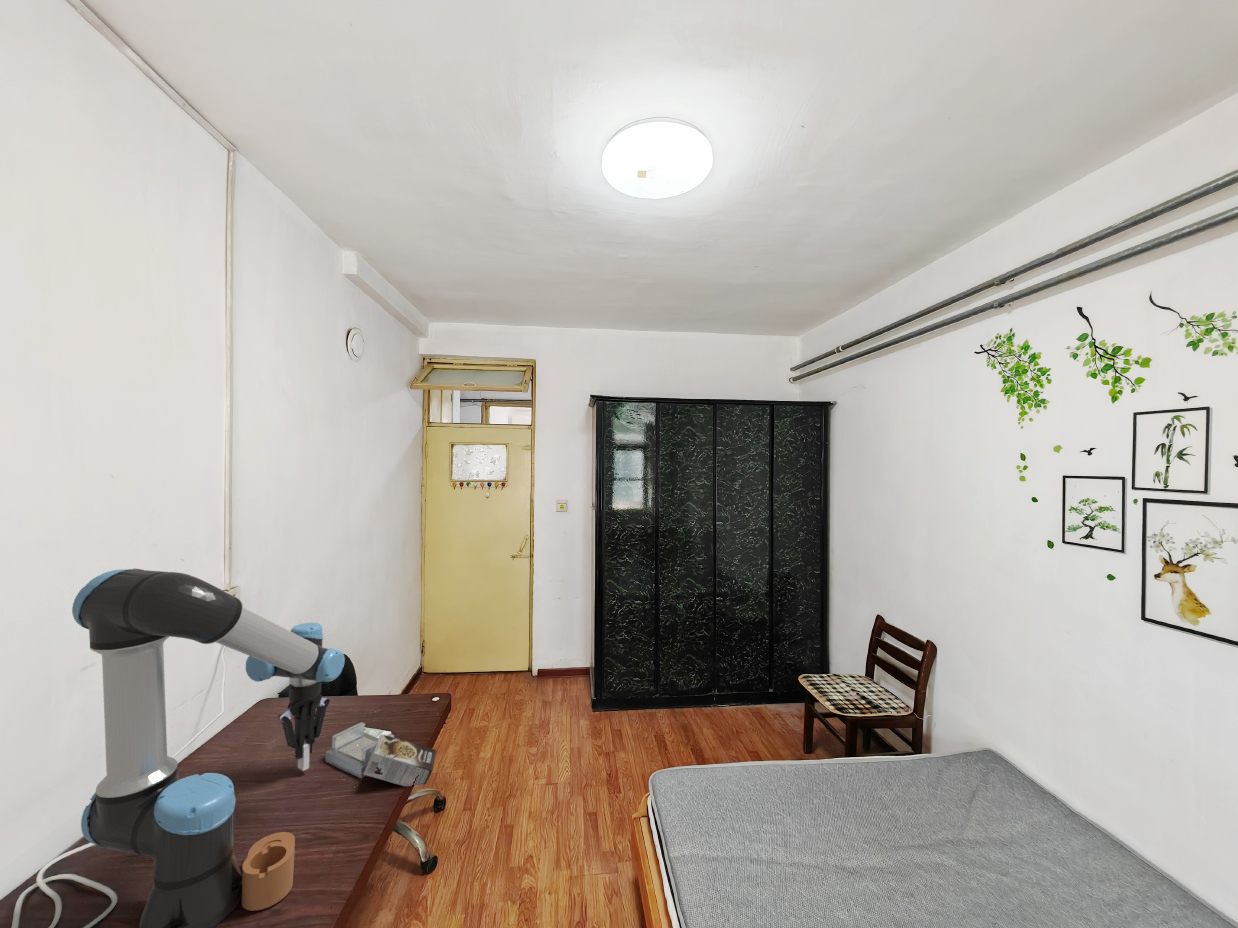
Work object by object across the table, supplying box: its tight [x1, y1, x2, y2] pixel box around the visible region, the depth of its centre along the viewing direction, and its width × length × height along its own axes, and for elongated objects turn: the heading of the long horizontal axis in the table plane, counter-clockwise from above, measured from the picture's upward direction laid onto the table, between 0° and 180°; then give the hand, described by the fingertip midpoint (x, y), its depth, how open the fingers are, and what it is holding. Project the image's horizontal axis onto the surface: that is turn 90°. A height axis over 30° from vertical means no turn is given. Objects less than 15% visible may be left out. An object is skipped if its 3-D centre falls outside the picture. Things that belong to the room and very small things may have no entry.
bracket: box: [241, 831, 296, 912], centre depth 103 cm, size 18×8×7 cm, turn 31°
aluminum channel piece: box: [325, 721, 395, 779], centre depth 144 cm, size 12×16×7 cm
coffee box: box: [363, 733, 437, 787], centre depth 136 cm, size 9×6×16 cm
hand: (303, 767), depth 137 cm, fingers closed
